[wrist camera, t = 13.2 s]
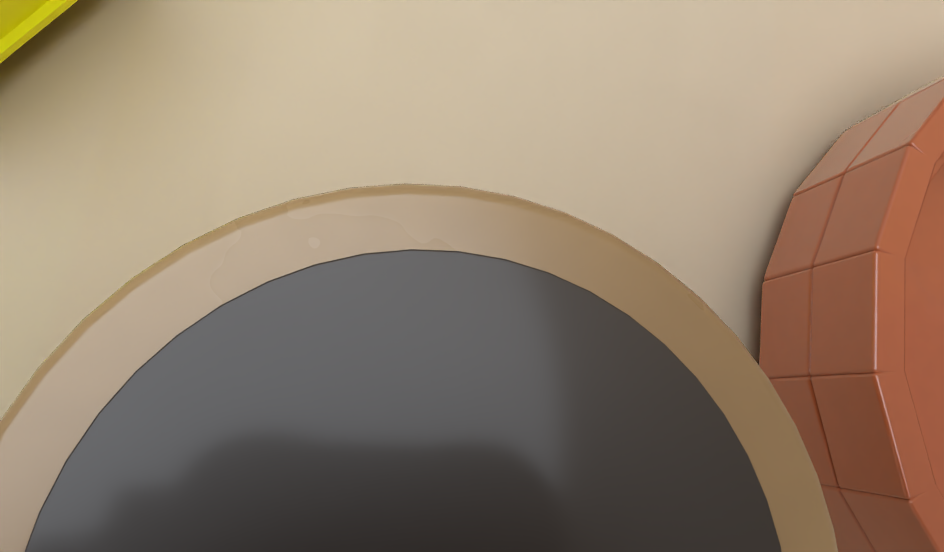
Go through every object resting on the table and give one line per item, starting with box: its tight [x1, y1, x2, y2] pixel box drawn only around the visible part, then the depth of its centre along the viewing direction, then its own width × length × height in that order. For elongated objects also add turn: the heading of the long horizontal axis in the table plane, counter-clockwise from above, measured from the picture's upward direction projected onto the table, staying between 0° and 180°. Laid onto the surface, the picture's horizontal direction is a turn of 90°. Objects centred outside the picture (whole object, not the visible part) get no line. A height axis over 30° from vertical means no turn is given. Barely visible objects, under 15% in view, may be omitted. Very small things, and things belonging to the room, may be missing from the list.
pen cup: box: [0, 184, 838, 552], centre depth 9 cm, size 5×5×11 cm
